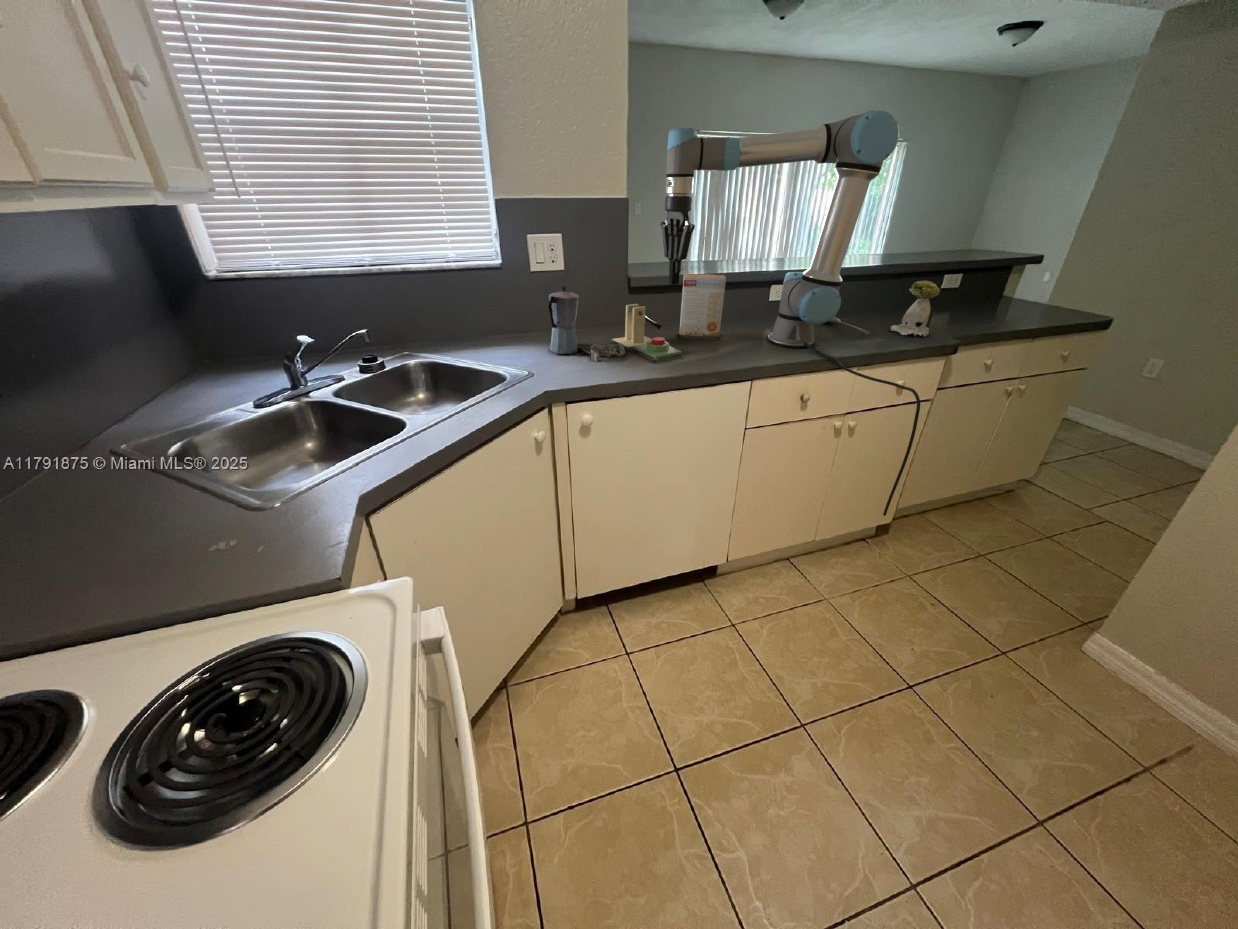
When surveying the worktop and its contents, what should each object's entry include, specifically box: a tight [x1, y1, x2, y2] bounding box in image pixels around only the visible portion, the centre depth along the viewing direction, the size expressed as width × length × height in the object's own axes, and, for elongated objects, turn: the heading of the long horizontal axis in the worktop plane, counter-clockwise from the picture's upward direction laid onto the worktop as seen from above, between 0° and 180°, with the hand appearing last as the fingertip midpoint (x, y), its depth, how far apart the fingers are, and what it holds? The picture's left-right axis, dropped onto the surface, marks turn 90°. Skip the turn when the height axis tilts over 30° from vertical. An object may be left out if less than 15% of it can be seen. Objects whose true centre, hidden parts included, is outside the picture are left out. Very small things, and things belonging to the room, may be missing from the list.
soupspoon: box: [828, 316, 870, 336], centre depth 187 cm, size 22×3×7 cm
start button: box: [651, 336, 666, 345], centre depth 152 cm, size 4×4×2 cm
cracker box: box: [679, 273, 727, 338], centre depth 168 cm, size 14×6×21 cm, turn 84°
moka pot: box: [547, 285, 580, 355], centre depth 151 cm, size 10×15×20 cm, turn 161°
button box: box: [633, 340, 683, 364], centre depth 154 cm, size 12×10×4 cm
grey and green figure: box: [890, 280, 941, 337], centre depth 179 cm, size 12×13×18 cm
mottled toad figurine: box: [589, 343, 626, 362], centre depth 151 cm, size 11×8×4 cm
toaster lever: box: [629, 306, 662, 330], centre depth 161 cm, size 12×5×2 cm
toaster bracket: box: [611, 303, 652, 348], centre depth 161 cm, size 12×10×13 cm
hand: (673, 283), depth 148 cm, fingers closed
